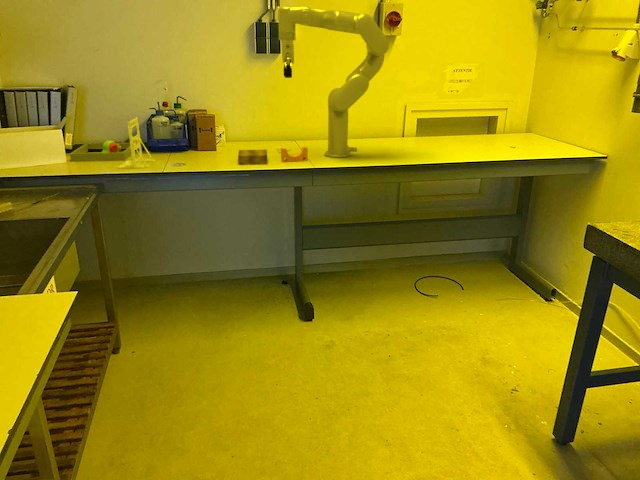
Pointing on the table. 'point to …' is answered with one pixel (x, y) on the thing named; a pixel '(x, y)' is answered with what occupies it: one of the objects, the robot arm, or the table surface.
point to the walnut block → (252, 157)
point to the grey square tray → (83, 156)
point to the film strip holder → (135, 147)
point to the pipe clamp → (294, 158)
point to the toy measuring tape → (111, 147)
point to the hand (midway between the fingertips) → (287, 76)
